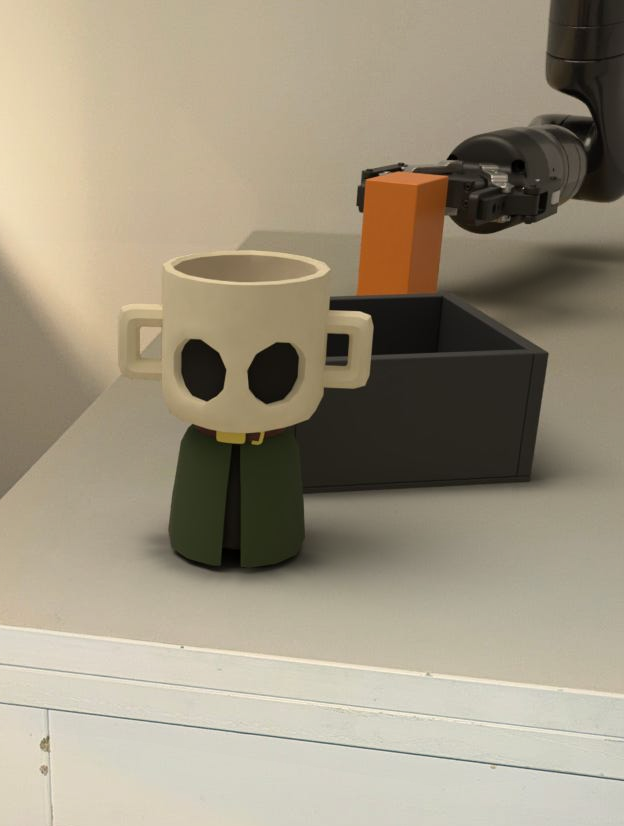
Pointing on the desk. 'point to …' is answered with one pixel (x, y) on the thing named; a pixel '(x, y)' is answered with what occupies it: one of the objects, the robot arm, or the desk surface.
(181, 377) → the character mug
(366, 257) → the block
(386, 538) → the desk surface
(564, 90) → the robot arm
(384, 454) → the bin
